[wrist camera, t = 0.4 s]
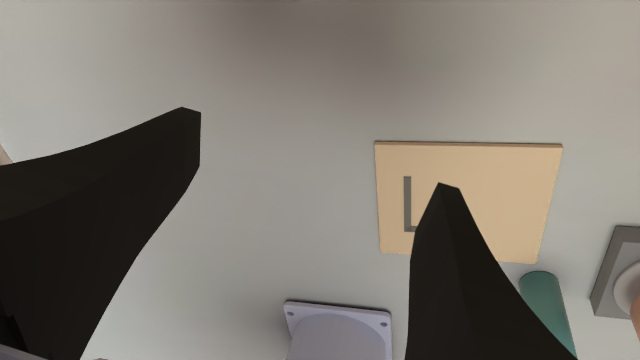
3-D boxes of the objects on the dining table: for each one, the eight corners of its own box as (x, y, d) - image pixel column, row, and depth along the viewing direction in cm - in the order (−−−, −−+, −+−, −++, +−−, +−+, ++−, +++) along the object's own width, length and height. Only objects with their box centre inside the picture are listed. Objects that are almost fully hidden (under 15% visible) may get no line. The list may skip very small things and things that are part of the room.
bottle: (555, 297, 28) (586, 430, 22) (515, 294, 28) (534, 422, 22) (563, 272, 26) (598, 406, 20) (520, 269, 27) (542, 398, 21)
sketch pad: (535, 260, 26) (536, 265, 26) (380, 248, 29) (380, 253, 28) (561, 144, 22) (563, 148, 21) (375, 141, 24) (374, 145, 24)
